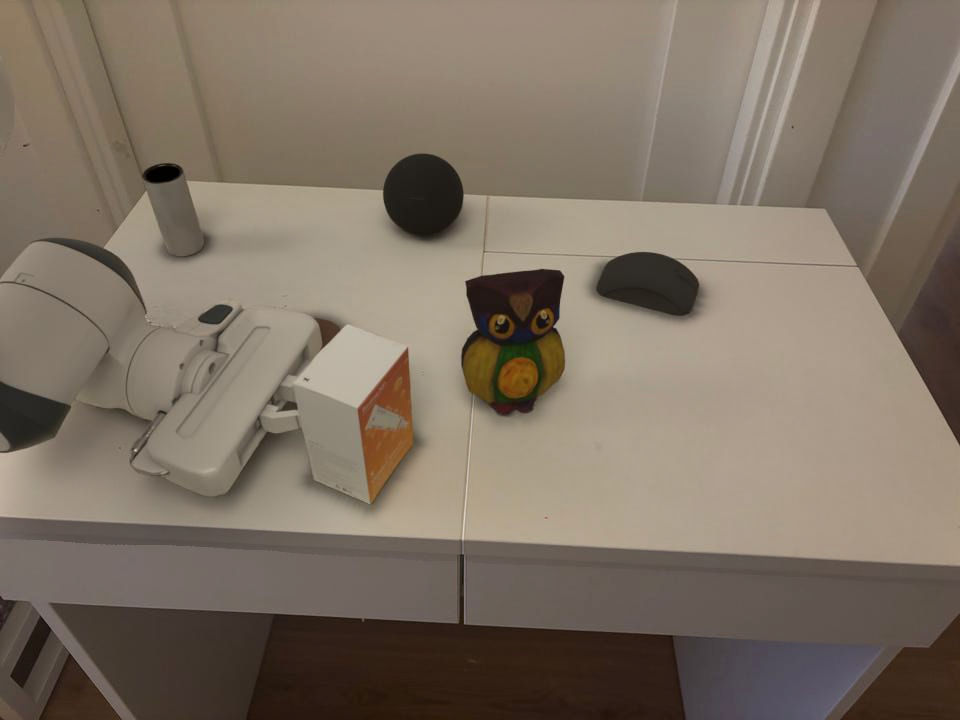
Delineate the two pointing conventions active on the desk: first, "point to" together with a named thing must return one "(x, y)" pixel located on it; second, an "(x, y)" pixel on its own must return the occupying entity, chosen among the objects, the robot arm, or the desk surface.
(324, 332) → the coaster
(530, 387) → the figurine
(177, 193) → the grey cylinder
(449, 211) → the speaker
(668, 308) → the computer mouse
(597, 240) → the desk surface
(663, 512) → the desk surface
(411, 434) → the small box
